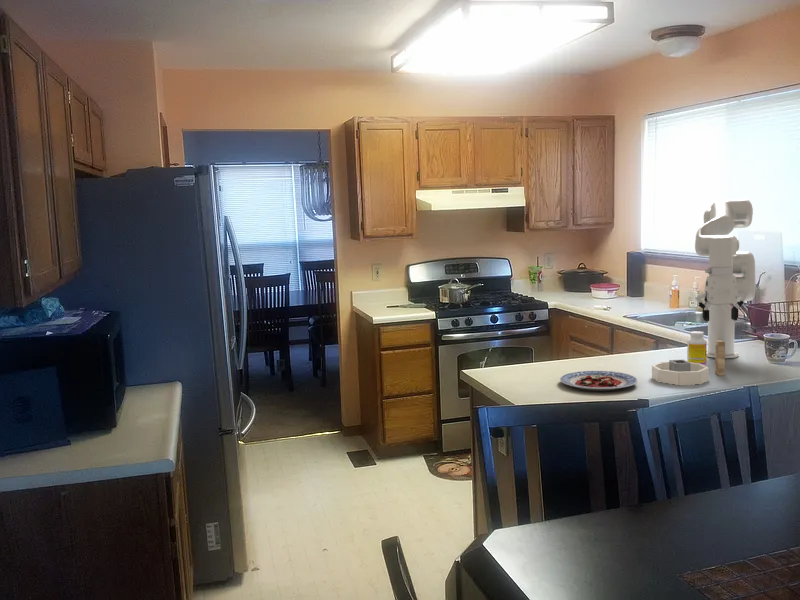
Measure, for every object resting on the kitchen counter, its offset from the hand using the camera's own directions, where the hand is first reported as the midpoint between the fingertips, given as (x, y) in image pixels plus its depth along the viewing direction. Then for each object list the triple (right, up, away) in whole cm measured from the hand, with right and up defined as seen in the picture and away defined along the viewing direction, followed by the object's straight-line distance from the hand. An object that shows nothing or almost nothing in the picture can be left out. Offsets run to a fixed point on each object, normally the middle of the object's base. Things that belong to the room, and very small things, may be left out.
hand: (720, 320), depth 237 cm
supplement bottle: (-1, -18, +17) cm, 25 cm away
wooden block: (+1, -19, +2) cm, 20 cm away
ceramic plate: (-44, -23, -4) cm, 50 cm away
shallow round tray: (-15, -21, -2) cm, 26 cm away
